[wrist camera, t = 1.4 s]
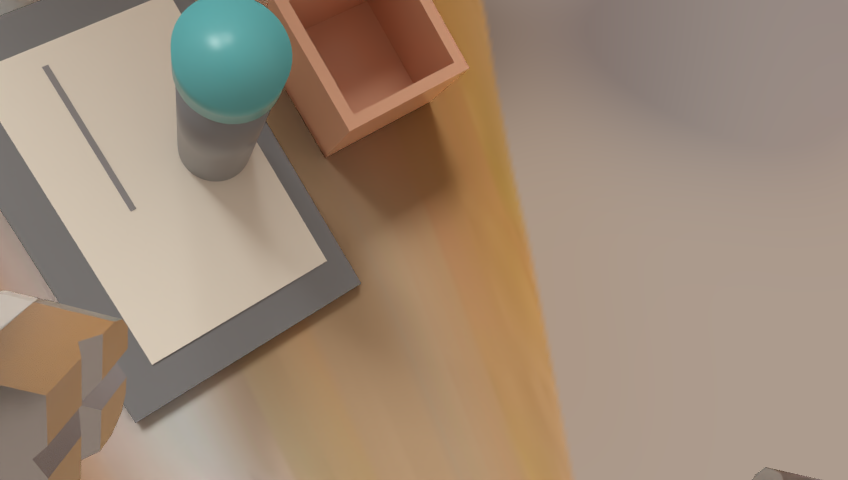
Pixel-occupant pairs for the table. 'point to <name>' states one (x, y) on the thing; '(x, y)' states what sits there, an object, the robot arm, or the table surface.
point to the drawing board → (148, 199)
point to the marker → (225, 82)
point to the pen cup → (364, 63)
